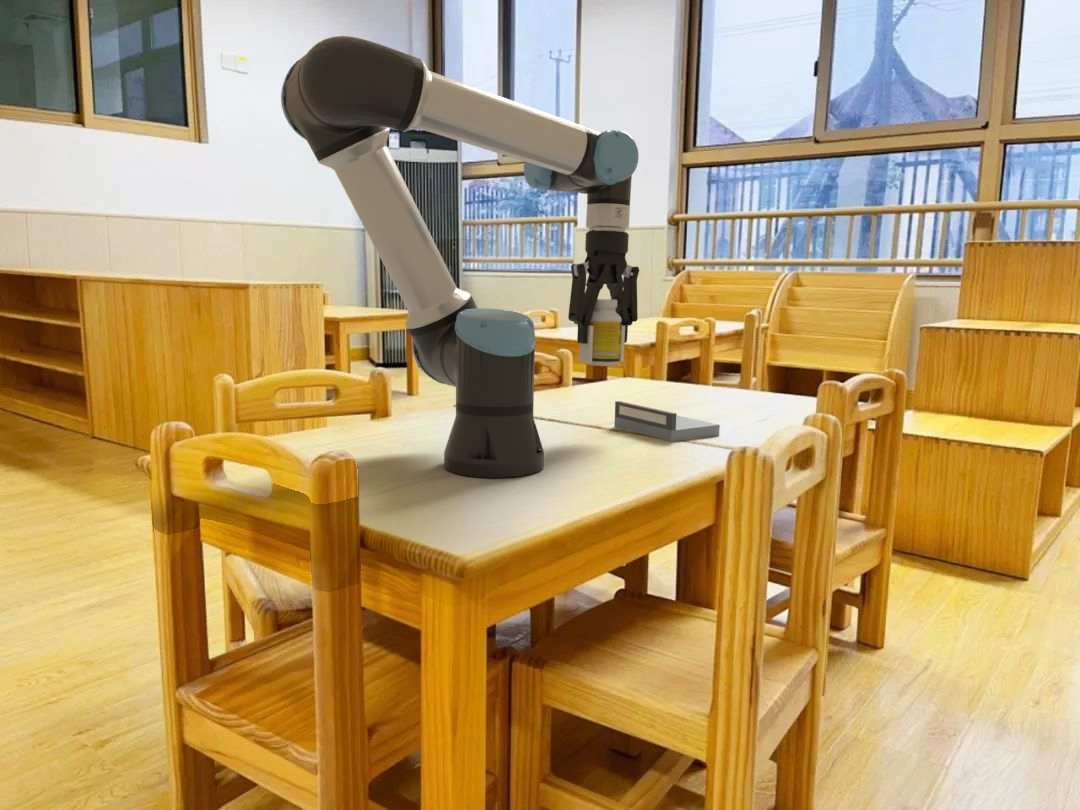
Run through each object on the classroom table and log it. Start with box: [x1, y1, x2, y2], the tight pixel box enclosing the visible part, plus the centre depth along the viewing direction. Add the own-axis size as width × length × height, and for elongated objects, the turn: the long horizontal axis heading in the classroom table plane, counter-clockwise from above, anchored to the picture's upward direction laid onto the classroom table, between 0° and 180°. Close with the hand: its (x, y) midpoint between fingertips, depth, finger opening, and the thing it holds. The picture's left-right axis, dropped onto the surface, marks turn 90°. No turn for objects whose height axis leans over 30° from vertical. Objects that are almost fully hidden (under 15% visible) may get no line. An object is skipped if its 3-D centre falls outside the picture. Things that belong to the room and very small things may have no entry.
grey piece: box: [614, 400, 721, 442], centre depth 153 cm, size 12×16×5 cm
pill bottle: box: [585, 298, 622, 367], centre depth 145 cm, size 6×6×12 cm
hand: (601, 361), depth 145 cm, fingers closed on pill bottle, 6 cm apart
